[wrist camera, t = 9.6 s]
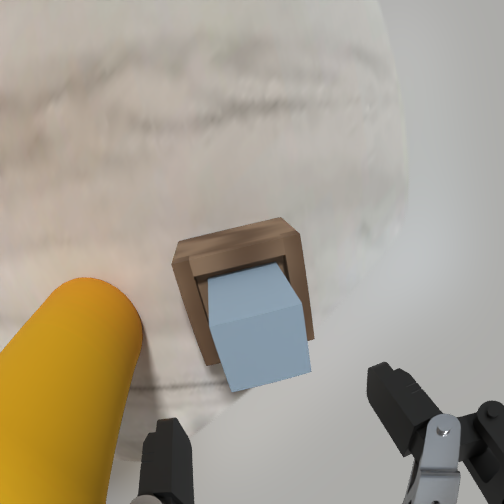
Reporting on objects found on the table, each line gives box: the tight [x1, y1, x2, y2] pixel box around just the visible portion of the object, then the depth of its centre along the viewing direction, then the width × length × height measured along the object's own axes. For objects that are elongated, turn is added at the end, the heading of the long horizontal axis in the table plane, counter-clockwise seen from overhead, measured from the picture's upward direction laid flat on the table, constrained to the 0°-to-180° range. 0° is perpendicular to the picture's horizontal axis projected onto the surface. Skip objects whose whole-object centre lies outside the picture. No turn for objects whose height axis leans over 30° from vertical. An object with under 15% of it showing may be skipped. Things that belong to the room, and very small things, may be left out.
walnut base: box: [172, 217, 314, 366], centre depth 22 cm, size 8×8×5 cm
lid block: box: [208, 261, 311, 392], centre depth 18 cm, size 4×4×6 cm
